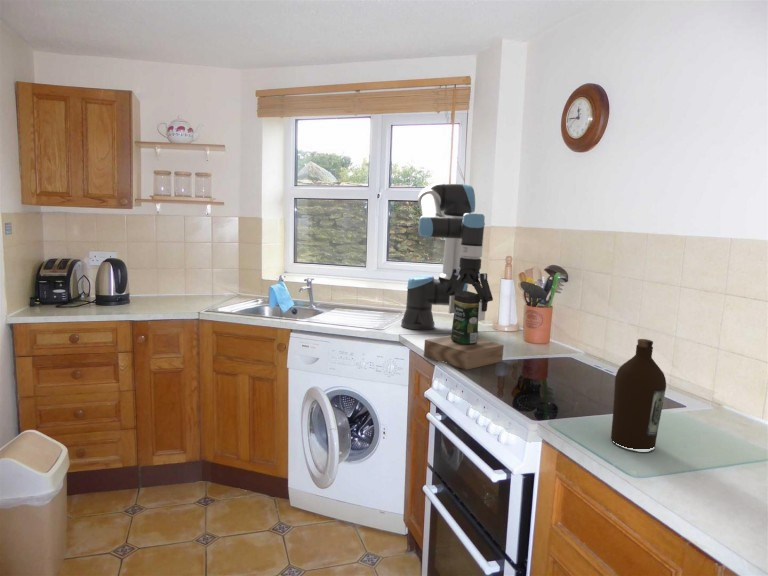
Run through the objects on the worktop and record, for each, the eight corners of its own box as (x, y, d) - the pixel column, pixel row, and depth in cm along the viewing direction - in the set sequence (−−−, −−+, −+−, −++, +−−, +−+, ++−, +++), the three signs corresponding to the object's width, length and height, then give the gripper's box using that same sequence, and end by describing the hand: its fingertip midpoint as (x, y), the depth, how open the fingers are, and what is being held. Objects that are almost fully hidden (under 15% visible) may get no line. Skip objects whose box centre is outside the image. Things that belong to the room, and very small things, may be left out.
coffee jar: (447, 339, 193) (450, 289, 191) (464, 338, 197) (468, 289, 195) (463, 346, 185) (467, 293, 182) (481, 344, 189) (485, 293, 186)
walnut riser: (423, 355, 193) (424, 339, 192) (459, 348, 206) (460, 333, 205) (466, 369, 178) (467, 352, 177) (502, 361, 191) (503, 345, 190)
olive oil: (601, 443, 124) (613, 339, 120) (616, 431, 132) (627, 332, 128) (650, 459, 117) (665, 348, 113) (662, 444, 125) (676, 341, 121)
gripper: (437, 254, 193) (433, 311, 197) (492, 261, 175) (487, 324, 178) (451, 253, 198) (447, 309, 202) (506, 261, 180) (501, 322, 183)
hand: (466, 316), depth 190 cm, fingers open, 13 cm apart
